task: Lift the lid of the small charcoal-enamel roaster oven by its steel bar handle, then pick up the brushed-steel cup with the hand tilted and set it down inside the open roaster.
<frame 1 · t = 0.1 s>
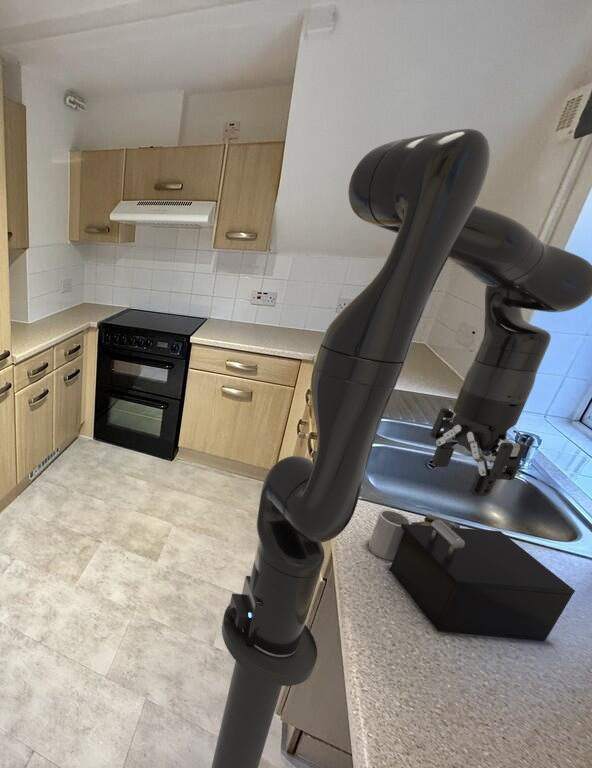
hand: (457, 479, 70), 24 cm above the counter, tool pointing down, fingers open, 8 cm apart
oven lid: (484, 545, 70), point 13 cm above the counter, hinge at 0.0°
chocolate cake: (424, 539, 91), on the counter
roaster: (459, 602, 75), on the counter
cup: (383, 550, 87), on the counter
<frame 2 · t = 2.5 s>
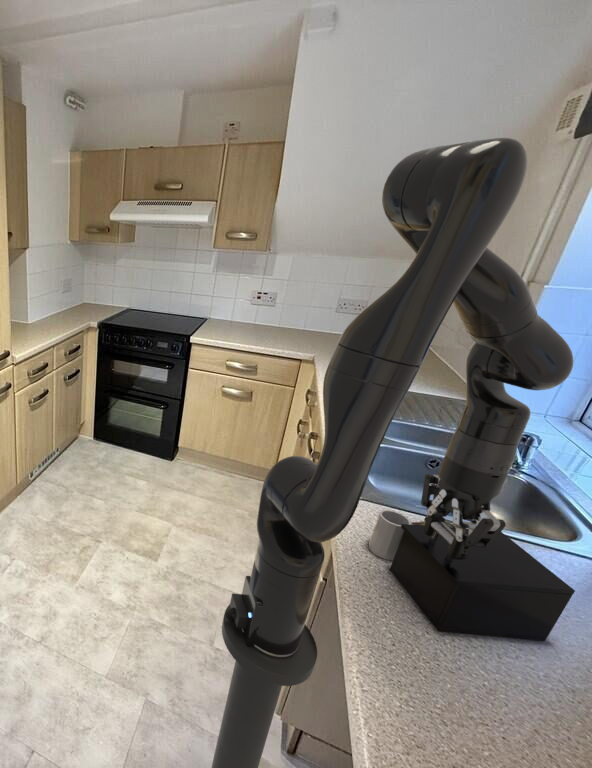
hand: (442, 545, 71), 12 cm above the counter, tool pointing down, fingers closed on oven lid, 5 cm apart
oven lid: (484, 545, 70), point 13 cm above the counter, hinge at -0.2°, touching gripper, roaster
everything else where it was.
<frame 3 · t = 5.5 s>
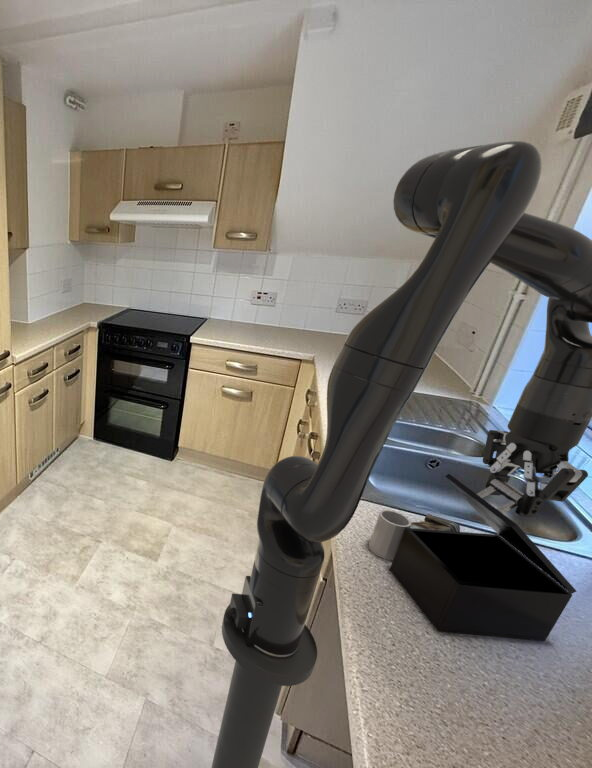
hand: (508, 503, 67), 22 cm above the counter, tool pointing down, fingers closed on oven lid, 5 cm apart
oven lid: (520, 522, 68), point 18 cm above the counter, hinge at 41.8°, touching gripper
everything else where it was.
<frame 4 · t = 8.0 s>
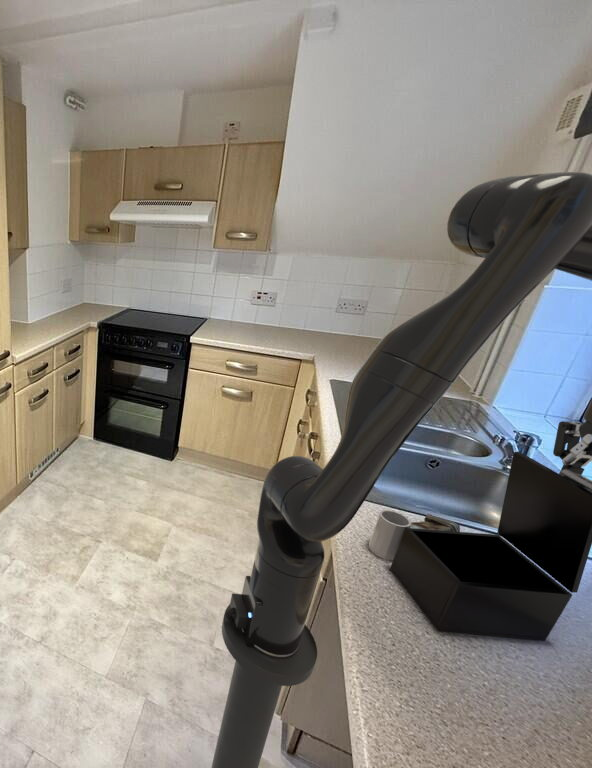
hand: (583, 496, 66), 24 cm above the counter, tool pointing down, fingers closed on oven lid, 5 cm apart
oven lid: (559, 517, 67), point 20 cm above the counter, hinge at 78.6°, touching gripper
everything else where it was.
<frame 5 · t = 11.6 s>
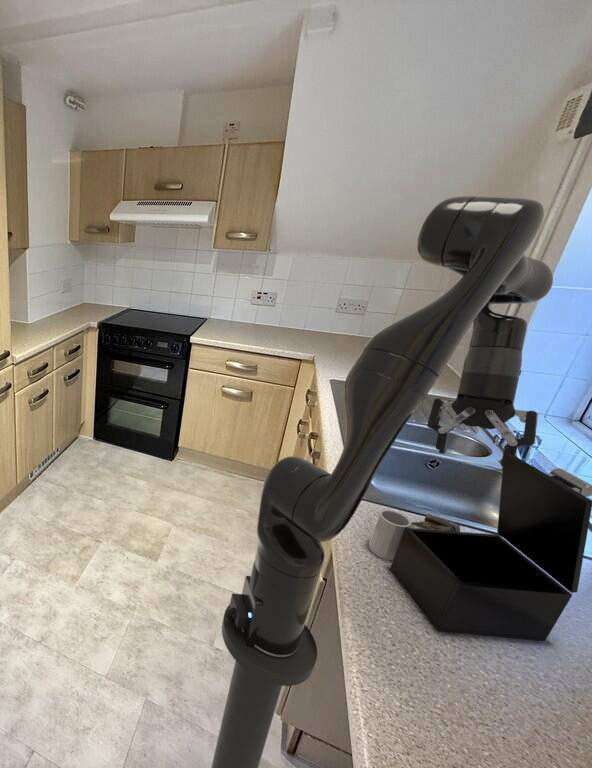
hand: (472, 459, 77), 24 cm above the counter, tool tilted 20°, fingers open, 8 cm apart
oven lid: (554, 516, 67), point 20 cm above the counter, hinge at 73.7°
everything else where it was.
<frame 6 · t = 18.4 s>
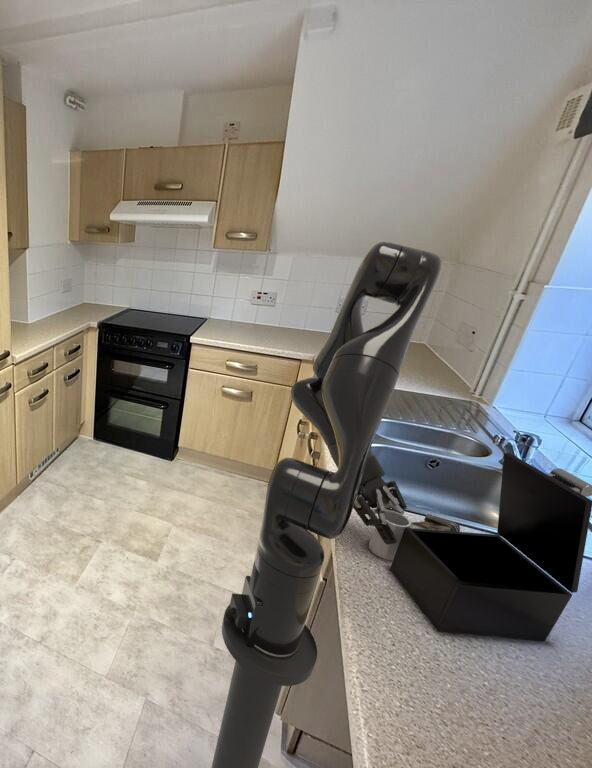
hand: (399, 538, 84), 5 cm above the counter, tool tilted 45°, fingers closed on cup, 5 cm apart
cup: (383, 550, 87), on the counter, touching gripper
everything else where it was.
when the fingers open (8 cm above the counter, at t = 28.0 s): cup drops 3 cm, resting on roaster.
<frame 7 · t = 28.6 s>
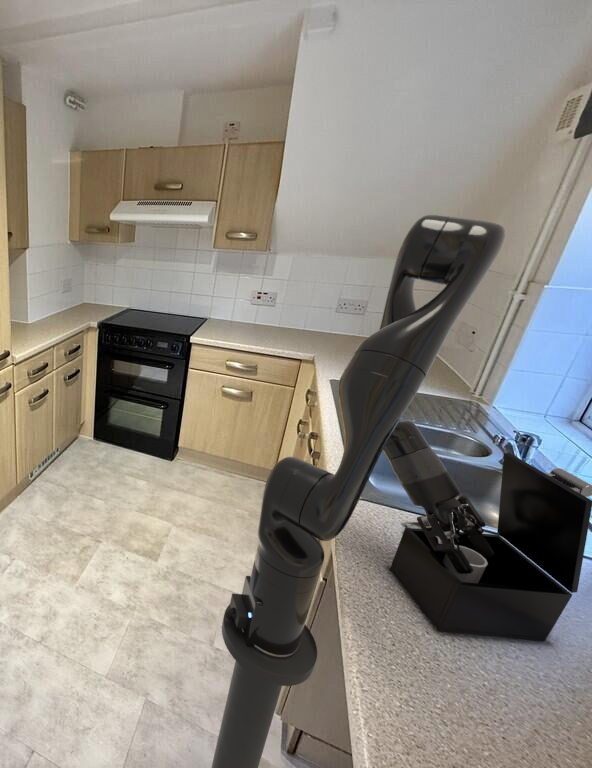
hand: (477, 564, 72), 9 cm above the counter, tool tilted 45°, fingers open, 8 cm apart
cup: (451, 591, 76), point 1 cm above the counter, touching roaster
everything else where it was.
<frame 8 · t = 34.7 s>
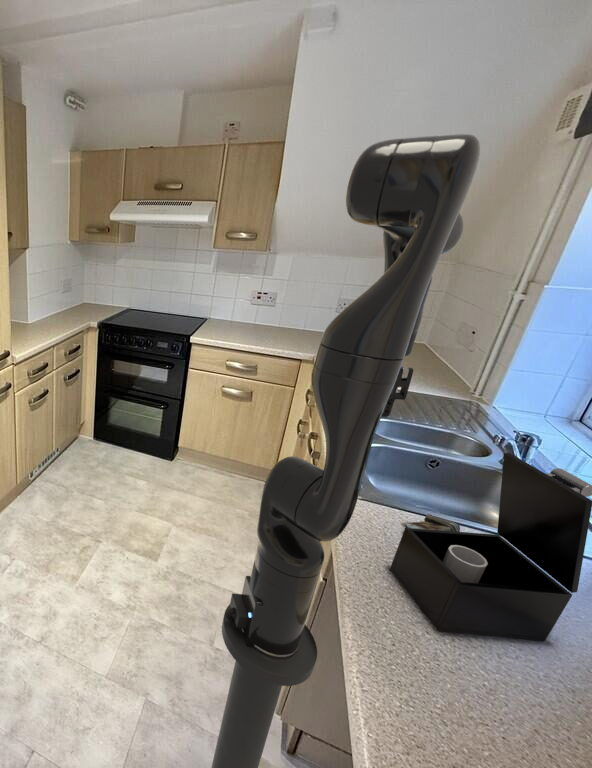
hand: (368, 406, 82), 30 cm above the counter, tool pointing down, fingers open, 8 cm apart
nothing on the counter moved.
at the end: oven lid at +74° (first picture: +0°); cup inside the target area in the roaster (1.7 cm from its centre), point 0.8 cm above the roaster's base; cup tilted 0° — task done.
